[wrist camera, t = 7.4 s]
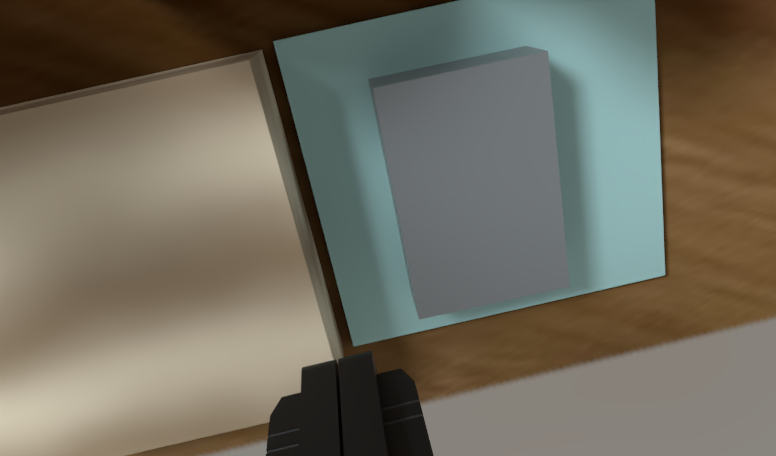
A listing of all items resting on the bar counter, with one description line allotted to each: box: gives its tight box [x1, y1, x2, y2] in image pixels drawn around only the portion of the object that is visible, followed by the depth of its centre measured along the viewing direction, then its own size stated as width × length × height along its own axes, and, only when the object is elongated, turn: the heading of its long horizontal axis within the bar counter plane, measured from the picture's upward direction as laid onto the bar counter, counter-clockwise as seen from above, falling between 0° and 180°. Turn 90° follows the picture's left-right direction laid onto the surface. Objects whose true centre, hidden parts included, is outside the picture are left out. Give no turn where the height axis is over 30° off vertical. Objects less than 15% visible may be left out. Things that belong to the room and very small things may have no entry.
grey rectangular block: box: [368, 46, 570, 320], centre depth 23 cm, size 9×6×2 cm, turn 11°
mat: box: [273, 0, 665, 346], centre depth 24 cm, size 13×14×1 cm
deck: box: [0, 50, 344, 456], centre depth 23 cm, size 13×13×4 cm
